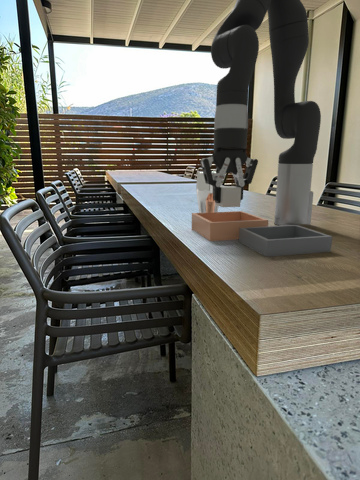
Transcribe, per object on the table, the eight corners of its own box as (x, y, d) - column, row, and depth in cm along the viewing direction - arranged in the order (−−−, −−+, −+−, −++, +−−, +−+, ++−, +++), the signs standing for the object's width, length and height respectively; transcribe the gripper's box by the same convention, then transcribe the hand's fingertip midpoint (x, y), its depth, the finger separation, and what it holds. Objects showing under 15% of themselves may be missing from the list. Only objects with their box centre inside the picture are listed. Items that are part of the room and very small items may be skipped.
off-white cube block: (232, 204, 83) (233, 186, 82) (240, 206, 78) (241, 187, 77) (215, 204, 82) (216, 186, 81) (222, 207, 77) (223, 187, 76)
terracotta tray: (241, 229, 90) (241, 211, 89) (266, 241, 77) (268, 220, 76) (191, 232, 87) (191, 213, 86) (209, 245, 74) (210, 222, 72)
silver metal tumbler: (219, 228, 91) (220, 172, 87) (194, 227, 92) (194, 172, 89) (221, 224, 98) (223, 171, 94) (197, 223, 99) (198, 171, 95)
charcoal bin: (294, 241, 77) (296, 224, 76) (330, 256, 65) (332, 236, 64) (238, 245, 73) (239, 227, 72) (265, 261, 62) (267, 240, 61)
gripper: (252, 130, 81) (247, 200, 85) (195, 128, 78) (194, 201, 82) (267, 127, 74) (262, 204, 78) (206, 124, 71) (204, 205, 75)
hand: (227, 202), depth 80 cm, fingers closed on off-white cube block, 4 cm apart
